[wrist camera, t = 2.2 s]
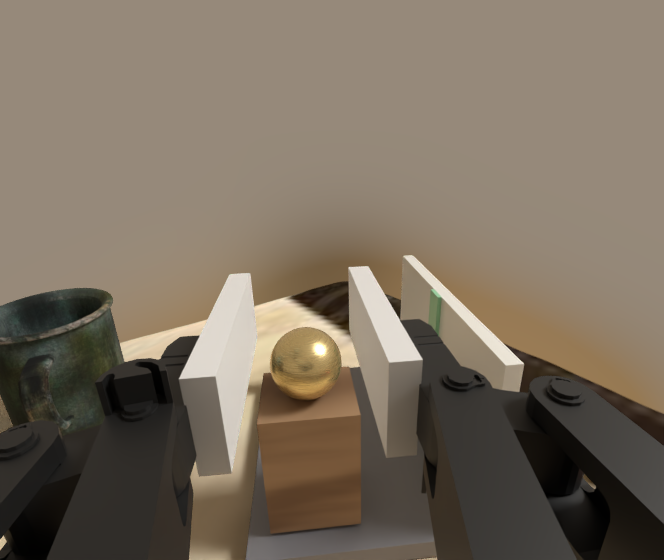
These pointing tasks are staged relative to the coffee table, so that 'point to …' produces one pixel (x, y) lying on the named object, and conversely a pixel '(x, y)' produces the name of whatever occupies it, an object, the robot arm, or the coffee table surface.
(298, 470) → the slider
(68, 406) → the mug
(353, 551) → the stand
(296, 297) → the coffee table surface
